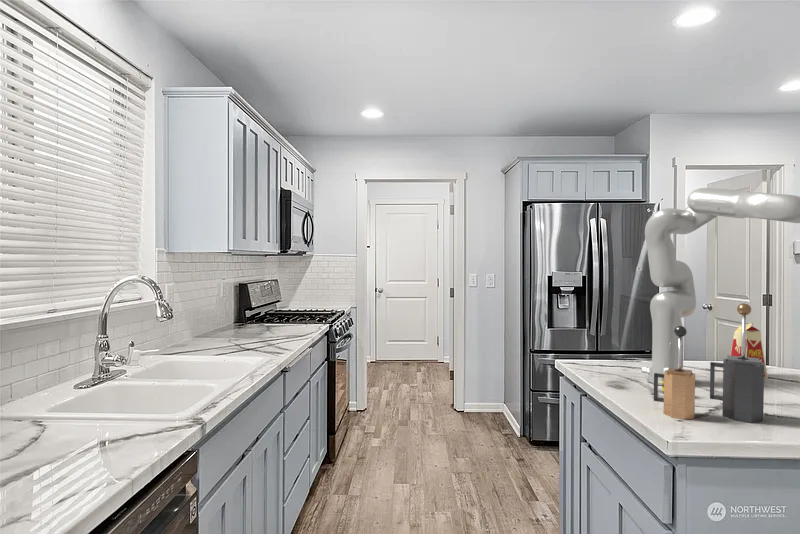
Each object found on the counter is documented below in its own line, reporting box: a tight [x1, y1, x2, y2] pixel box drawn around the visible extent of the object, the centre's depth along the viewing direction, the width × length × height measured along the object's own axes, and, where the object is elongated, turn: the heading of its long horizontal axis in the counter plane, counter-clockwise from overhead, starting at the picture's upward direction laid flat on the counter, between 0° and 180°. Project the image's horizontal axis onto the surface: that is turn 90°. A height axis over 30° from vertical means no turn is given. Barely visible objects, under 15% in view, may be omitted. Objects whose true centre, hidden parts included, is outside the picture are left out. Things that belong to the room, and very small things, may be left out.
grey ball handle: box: [674, 325, 687, 372], centre depth 138 cm, size 3×3×17 cm
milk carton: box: [730, 322, 769, 380], centre depth 188 cm, size 9×9×20 cm
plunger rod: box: [736, 302, 752, 360], centre depth 137 cm, size 3×3×21 cm
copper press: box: [653, 368, 696, 420], centre depth 139 cm, size 10×7×12 cm
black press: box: [709, 354, 765, 424], centre depth 138 cm, size 12×9×16 cm
